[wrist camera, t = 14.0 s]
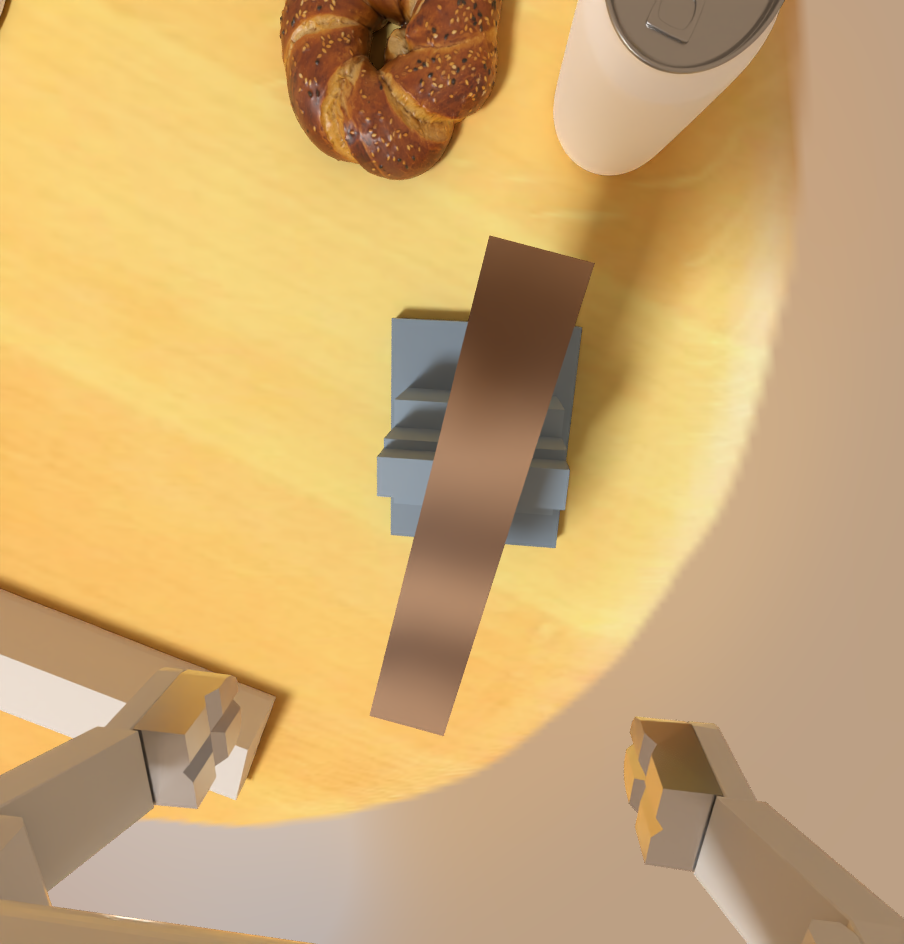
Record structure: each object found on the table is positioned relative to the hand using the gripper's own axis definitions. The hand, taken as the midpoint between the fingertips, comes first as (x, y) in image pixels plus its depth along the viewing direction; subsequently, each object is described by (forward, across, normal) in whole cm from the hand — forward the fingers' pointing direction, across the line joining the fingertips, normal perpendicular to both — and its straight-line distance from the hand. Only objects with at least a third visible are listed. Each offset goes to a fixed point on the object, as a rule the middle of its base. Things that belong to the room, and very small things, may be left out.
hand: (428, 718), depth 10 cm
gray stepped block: (+24, 0, 0) cm, 24 cm away
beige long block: (+24, +33, +22) cm, 47 cm away
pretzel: (+24, +6, -20) cm, 32 cm away
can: (+24, -6, -18) cm, 30 cm away
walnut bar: (+14, 0, 0) cm, 14 cm away
